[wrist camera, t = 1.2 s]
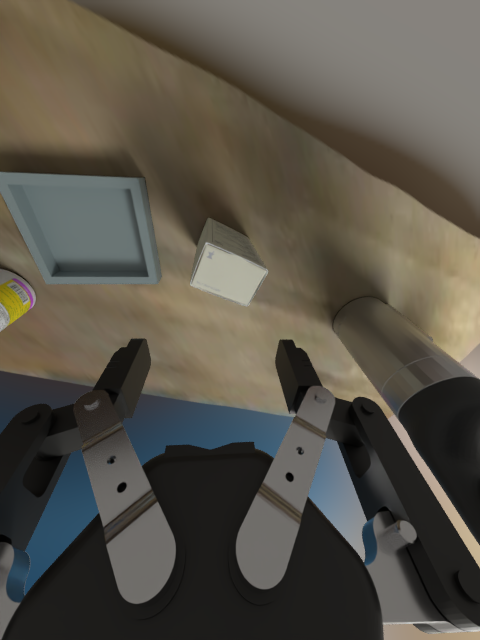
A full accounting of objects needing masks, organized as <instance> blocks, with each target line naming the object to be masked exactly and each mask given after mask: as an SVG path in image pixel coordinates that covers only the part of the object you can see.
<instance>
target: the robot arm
mask: <svg viewBox="0 0 480 640" xmlns="http://www.w3.org/2000/svg"><path fill="white" fill-rule="evenodd" d="M333 329H334V332H335V333H336V335H337V336H338V338H339V339H340V340H341V342H342V343H343V344H344V346H345V347H346V349H347V350H348V352H349V353H350V354H351V356H352V357H353V358H354V360H355V361H356V363H357V364H358V365H359V367H360V368H361V369H362V371H363V372H364V373H365V375H366V376H367V378H368V379H369V380H370V382H371V383H372V384H373V386H374V387H375V389H376V390H377V391H378V393H379V394H380V395H381V397H382V398H383V399H384V401H385V402H386V403H387V405H388V406H389V408H390V409H391V410H392V412H393V413H394V414H395V416H396V417H397V419H398V420H399V421H400V423H401V424H402V425H403V427H404V428H405V430H406V431H407V433H408V435H409V437H410V439H411V441H412V443H413V445H414V447H415V448H416V450H417V451H418V453H419V454H420V456H421V457H422V459H423V460H424V461H425V463H426V464H427V466H428V467H429V469H430V470H431V472H432V473H433V475H434V476H435V478H436V479H437V481H438V482H439V484H440V485H441V487H442V488H443V490H444V491H445V493H446V495H447V496H448V498H449V499H450V501H451V502H452V504H453V505H454V507H455V508H456V510H457V512H458V513H459V514H460V516H461V518H462V519H463V521H464V522H465V524H466V525H467V527H468V529H469V530H470V532H471V533H472V535H473V536H474V537H475V539H476V541H477V542H478V543H479V545H480V379H479V378H477V377H476V376H475V375H474V374H473V373H471V372H470V371H469V370H467V369H466V368H465V367H464V366H462V365H461V364H460V363H459V362H457V361H456V360H455V359H453V358H452V357H451V356H450V355H448V354H447V353H446V352H445V351H443V350H442V349H441V348H439V347H438V346H437V345H436V344H434V343H433V339H432V337H430V336H429V335H428V334H427V333H425V332H424V331H423V330H421V329H420V328H419V327H418V326H416V325H415V324H414V323H412V322H411V321H410V320H408V319H407V318H406V317H405V316H403V315H402V314H401V313H399V312H398V311H397V310H396V309H394V308H393V307H392V306H390V305H389V304H384V303H383V302H382V301H380V300H379V299H377V298H373V297H363V298H359V299H356V300H354V301H352V302H350V303H348V304H347V305H345V306H344V307H343V308H342V309H341V310H340V311H339V312H338V314H337V315H336V317H335V319H334V323H333ZM275 363H276V369H277V372H278V376H279V379H280V383H281V386H282V390H283V393H284V397H285V400H286V404H287V407H288V411H289V414H296V416H295V417H294V419H293V421H292V423H291V425H290V427H289V429H288V431H287V433H286V435H285V437H284V439H283V441H282V443H281V446H280V448H279V450H278V452H277V454H276V456H275V458H273V457H272V456H270V455H269V454H267V453H265V452H263V451H261V450H258V449H255V447H254V442H240V443H239V442H238V443H230V444H228V445H224V446H221V447H218V448H215V449H212V450H209V449H204V448H201V447H196V446H192V445H169V446H166V449H165V453H163V454H160V455H158V456H156V457H154V458H152V459H151V460H149V461H148V462H146V463H145V464H144V465H143V466H141V464H140V462H139V460H138V458H137V455H136V453H135V451H134V449H133V447H132V445H131V442H130V440H129V438H128V436H127V434H126V431H125V429H124V427H123V425H122V422H123V420H124V418H132V416H133V413H134V411H135V407H136V405H137V402H138V400H139V397H140V394H141V391H142V388H143V386H144V383H145V380H146V377H147V375H148V372H149V369H150V365H151V358H150V353H149V348H148V344H147V340H146V339H131V340H130V342H129V344H128V345H127V347H121V348H120V349H119V350H118V351H117V352H115V353H114V355H113V356H112V358H111V360H110V362H109V363H108V365H107V366H106V368H105V370H104V372H103V373H102V375H101V377H100V378H99V380H98V382H97V383H96V385H95V387H94V389H93V390H92V391H90V392H87V393H86V394H84V395H82V396H81V397H80V398H79V399H78V400H77V401H76V402H75V403H74V404H72V405H68V406H65V407H61V408H57V409H53V410H52V409H51V407H50V406H49V405H47V404H37V405H33V406H30V407H28V408H26V409H24V410H23V411H21V412H20V413H18V414H17V415H16V416H15V417H14V418H13V419H12V420H11V421H10V423H9V424H8V425H7V426H6V428H5V429H4V430H3V432H2V433H1V434H0V640H384V638H383V624H413V625H414V626H416V627H417V628H418V629H419V630H421V631H423V632H425V633H430V634H432V633H450V632H471V631H480V568H479V566H478V565H477V563H476V561H475V560H474V558H473V557H472V555H471V553H470V552H469V550H468V548H467V547H466V545H465V544H464V542H463V540H462V539H461V537H460V536H459V534H458V532H457V531H456V529H455V528H454V526H453V524H452V523H451V521H450V519H449V518H448V516H447V515H446V513H445V511H444V510H443V508H442V507H441V505H440V503H439V502H438V500H437V499H436V497H435V495H434V494H433V492H432V490H431V489H430V487H429V485H428V484H427V482H426V481H425V479H424V477H423V476H422V474H421V473H420V471H419V470H418V468H417V466H416V465H415V463H414V461H413V460H412V458H411V457H410V455H409V453H408V452H407V450H406V448H405V447H404V445H403V443H402V442H401V440H400V439H399V437H398V436H397V434H396V432H395V431H394V429H393V427H392V426H391V424H390V422H389V421H388V419H387V418H386V416H385V414H384V413H383V411H382V409H381V408H380V407H379V406H378V405H377V404H376V403H375V402H374V401H372V400H370V399H368V398H365V397H357V398H355V399H354V400H353V402H349V401H346V400H342V399H338V398H335V397H334V395H333V394H332V393H331V392H330V391H329V390H328V389H326V388H324V387H323V386H322V384H321V382H320V380H319V378H318V376H317V374H316V372H315V370H314V368H313V367H312V363H311V361H310V359H309V357H308V355H307V353H306V352H305V351H304V350H302V349H301V348H296V346H295V344H294V342H293V340H280V341H279V345H278V349H277V354H276V360H275ZM326 438H328V439H332V440H335V441H337V442H338V445H339V448H340V450H341V453H342V456H343V458H344V461H345V464H346V466H347V469H348V472H349V474H350V477H351V479H352V482H353V485H354V487H355V490H356V493H357V495H358V498H359V501H360V503H361V506H362V509H363V511H364V514H365V516H366V519H367V522H366V523H365V524H364V526H363V529H362V539H363V544H364V548H365V561H364V562H363V561H362V559H361V558H360V556H359V555H358V553H357V552H356V551H355V550H354V549H353V547H352V546H351V545H350V544H349V543H348V542H347V541H346V539H345V538H344V537H343V536H342V535H341V534H340V533H339V531H338V530H337V529H336V528H335V527H334V526H333V524H332V523H331V522H330V521H329V520H328V519H327V518H326V517H325V515H324V514H323V513H322V512H321V511H320V510H319V508H318V507H317V506H316V505H315V504H314V503H313V502H312V500H311V499H310V498H309V497H308V494H309V490H310V487H311V484H312V481H313V477H314V474H315V471H316V468H317V465H318V461H319V458H320V455H321V451H322V449H323V445H324V442H325V439H326ZM80 449H82V453H83V456H84V460H85V464H86V467H87V470H88V474H89V478H90V481H91V484H92V488H93V492H94V495H95V499H96V503H97V506H98V509H99V513H98V514H97V516H96V517H95V518H94V519H93V520H92V521H91V522H90V523H89V524H88V525H87V526H86V528H85V529H84V530H83V531H82V532H81V533H80V534H79V535H78V536H77V538H75V540H74V541H73V542H72V543H71V544H70V545H69V546H68V547H67V548H66V549H65V551H64V552H63V553H62V554H61V555H60V556H59V557H58V558H57V559H56V561H55V562H54V563H53V564H52V565H51V566H50V567H49V568H48V569H47V570H46V571H45V572H44V574H43V575H42V576H41V577H40V578H39V579H38V580H37V581H36V582H35V584H34V585H33V586H32V587H31V588H30V590H29V591H28V593H27V594H26V595H24V586H25V581H26V579H27V575H28V572H29V568H30V558H29V555H28V554H27V553H26V552H25V549H26V547H27V545H28V543H29V541H30V539H31V537H32V535H33V532H34V530H35V528H36V526H37V524H38V522H39V520H40V517H41V516H42V513H43V511H44V509H45V507H46V505H47V503H48V501H49V498H50V496H51V494H52V492H53V490H54V488H55V486H56V484H57V482H58V480H59V477H60V475H61V473H62V471H63V469H64V467H65V465H66V463H67V460H68V458H69V456H70V454H71V452H74V451H76V450H80Z"/></svg>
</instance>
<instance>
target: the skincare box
mask: <svg viewBox="0 0 480 640" xmlns="http://www.w3.org/2000/svg"><path fill="white" fill-rule="evenodd" d="M267 273H268V270H267V268H266V266H265V265H264V263H263V261H262V260H261V258H260V256H259V255H258V253H257V251H256V250H255V248H254V246H253V244H252V243H251V241H250V239H249V238H248V237H246V236H245V235H243V234H241V233H239V232H237V231H235V230H233V229H231V228H229V227H227V226H225V225H223V224H221V223H219V222H217V221H215V220H213V219H211V218H208V219H207V221H206V223H205V226H204V228H203V231H202V234H201V236H200V239H199V242H198V245H197V249H196V254H195V258H194V264H193V269H192V275H191V281H190V285H191V286H193V287H195V288H198V289H200V290H202V291H205V292H207V293H210V294H213V295H215V296H218V297H221V298H223V299H226V300H229V301H232V302H235V303H237V304H240V305H243V306H248V305H249V303H250V302H251V300H252V299H253V297H254V295H255V294H256V292H257V290H258V289H259V287H260V285H261V284H262V282H263V280H264V278H265V277H266V275H267Z"/></svg>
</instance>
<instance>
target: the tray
mask: <svg viewBox="0 0 480 640" xmlns="http://www.w3.org/2000/svg"><path fill="white" fill-rule="evenodd" d="M0 192H1V194H2V196H3V198H4V200H5V202H6V204H7V206H8V208H9V210H10V212H11V214H12V216H13V218H14V220H15V222H16V224H17V226H18V228H19V230H20V232H21V234H22V236H23V238H24V240H25V242H26V244H27V246H28V248H29V250H30V252H31V254H32V256H33V258H34V260H35V262H36V264H37V266H38V268H39V270H40V272H41V274H42V276H43V278H44V280H45V282H46V284H158V283H159V281H160V279H161V277H162V275H161V269H160V263H159V257H158V251H157V246H156V240H155V234H154V228H153V223H152V217H151V211H150V205H149V199H148V194H147V188H146V182H145V178H141V177H119V176H96V175H73V174H50V173H27V172H0Z"/></svg>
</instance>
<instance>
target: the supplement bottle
mask: <svg viewBox="0 0 480 640" xmlns="http://www.w3.org/2000/svg"><path fill="white" fill-rule="evenodd" d="M35 301H36V296H35V292H34V290H33V289H32V287H31V286H30V285H29V283H28V282H26V281H25V280H24V279H23V278H21V277H20V276H18V275H16V274H14V273H12V272H10V271H7V270H3V269H0V331H2V330H3V329H4V328H6V327H7V326H8V325H10V324H11V323H12V322H14V321H15V320H16V319H18V318H19V317H20V316H22V315H23V314H24V313H26V312H27V311H28V310H29V309H31V308H32V307H33V306H34V304H35Z"/></svg>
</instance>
